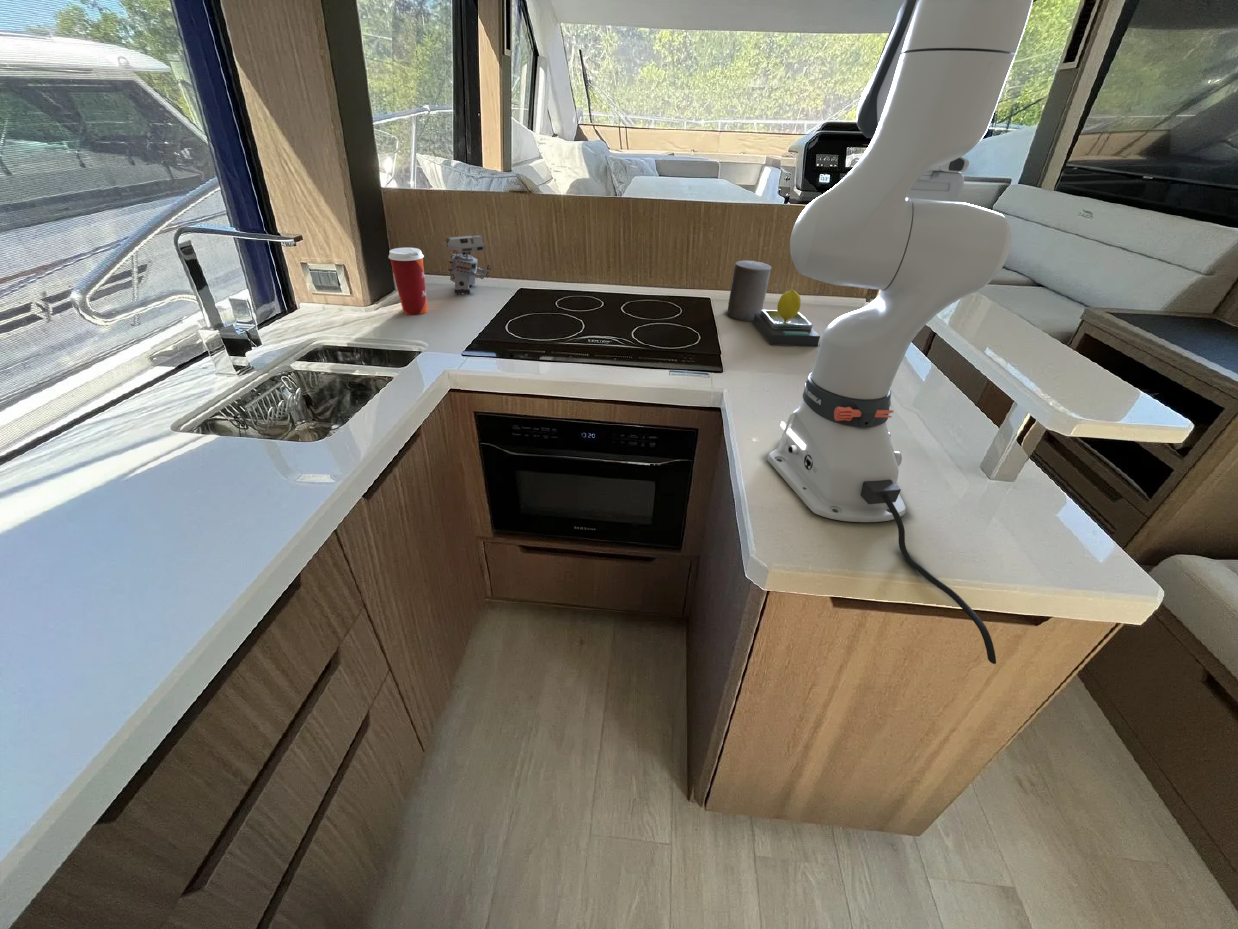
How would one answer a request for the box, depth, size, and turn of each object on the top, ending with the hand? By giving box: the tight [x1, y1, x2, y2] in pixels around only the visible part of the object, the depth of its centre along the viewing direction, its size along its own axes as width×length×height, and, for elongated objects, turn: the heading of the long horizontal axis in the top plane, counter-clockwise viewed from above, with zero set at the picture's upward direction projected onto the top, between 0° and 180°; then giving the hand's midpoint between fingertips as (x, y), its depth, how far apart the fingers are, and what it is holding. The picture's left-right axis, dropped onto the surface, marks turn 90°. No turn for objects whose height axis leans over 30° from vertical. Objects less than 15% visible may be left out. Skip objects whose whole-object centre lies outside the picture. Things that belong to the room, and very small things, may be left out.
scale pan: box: [760, 309, 814, 331], centre depth 135 cm, size 11×10×2 cm
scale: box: [752, 314, 821, 347], centre depth 136 cm, size 16×12×3 cm
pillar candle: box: [726, 259, 772, 322], centre depth 143 cm, size 10×10×15 cm
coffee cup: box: [388, 247, 428, 316], centre depth 132 cm, size 8×8×15 cm
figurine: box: [445, 234, 492, 296], centre depth 150 cm, size 9×12×15 cm
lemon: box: [776, 289, 802, 321], centre depth 133 cm, size 6×6×8 cm
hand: (895, 234), depth 111 cm, fingers open, 8 cm apart
